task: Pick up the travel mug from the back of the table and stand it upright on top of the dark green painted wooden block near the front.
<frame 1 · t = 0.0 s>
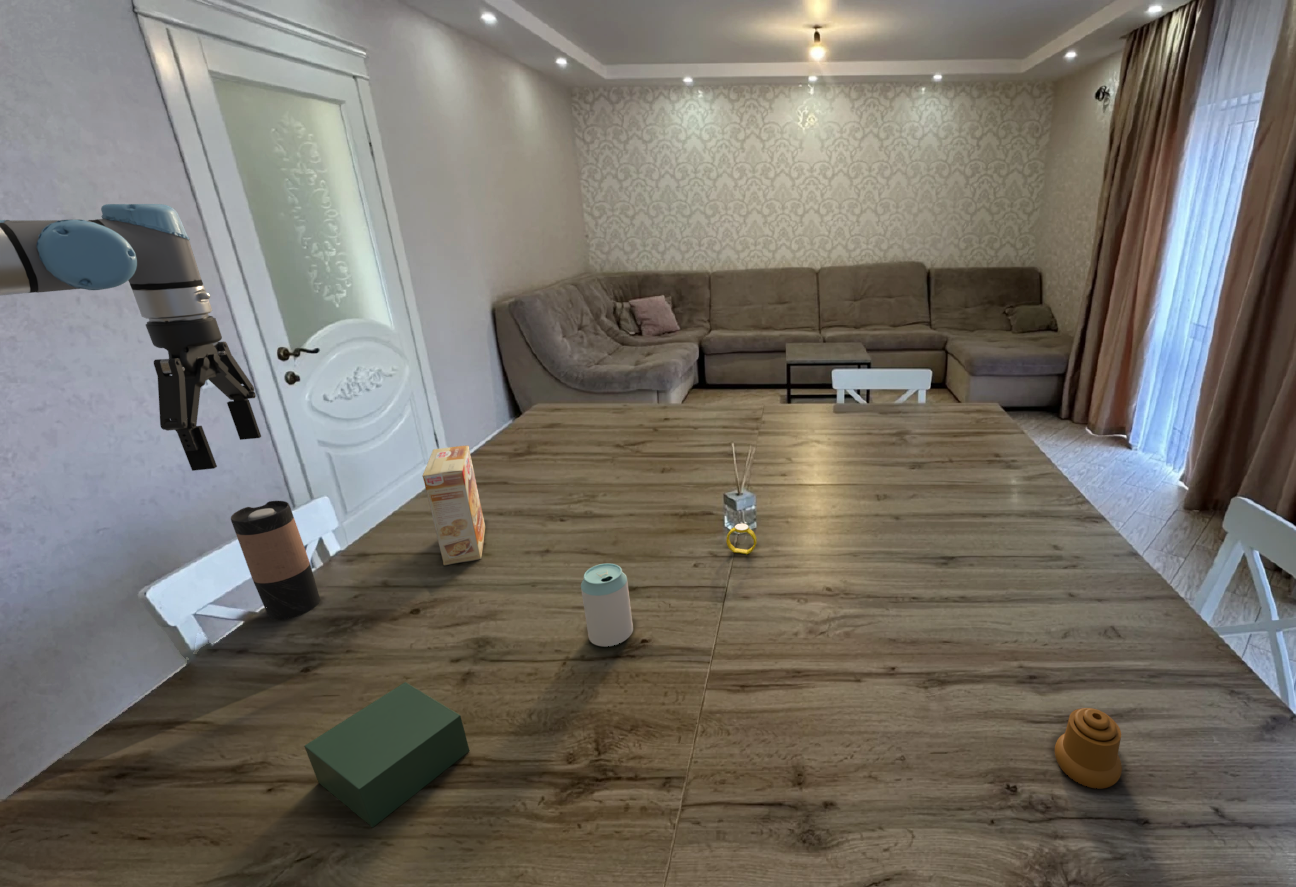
hand: (229, 452, 96), 30 cm above the table, tool pointing down, fingers open, 13 cm apart
green block: (396, 766, 76), on the table
travel mug: (297, 614, 106), on the table
ornamental finial: (1085, 767, 75), on the table
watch: (741, 553, 123), on the table
coffeecake box: (466, 545, 127), on the table
can: (611, 636, 99), on the table
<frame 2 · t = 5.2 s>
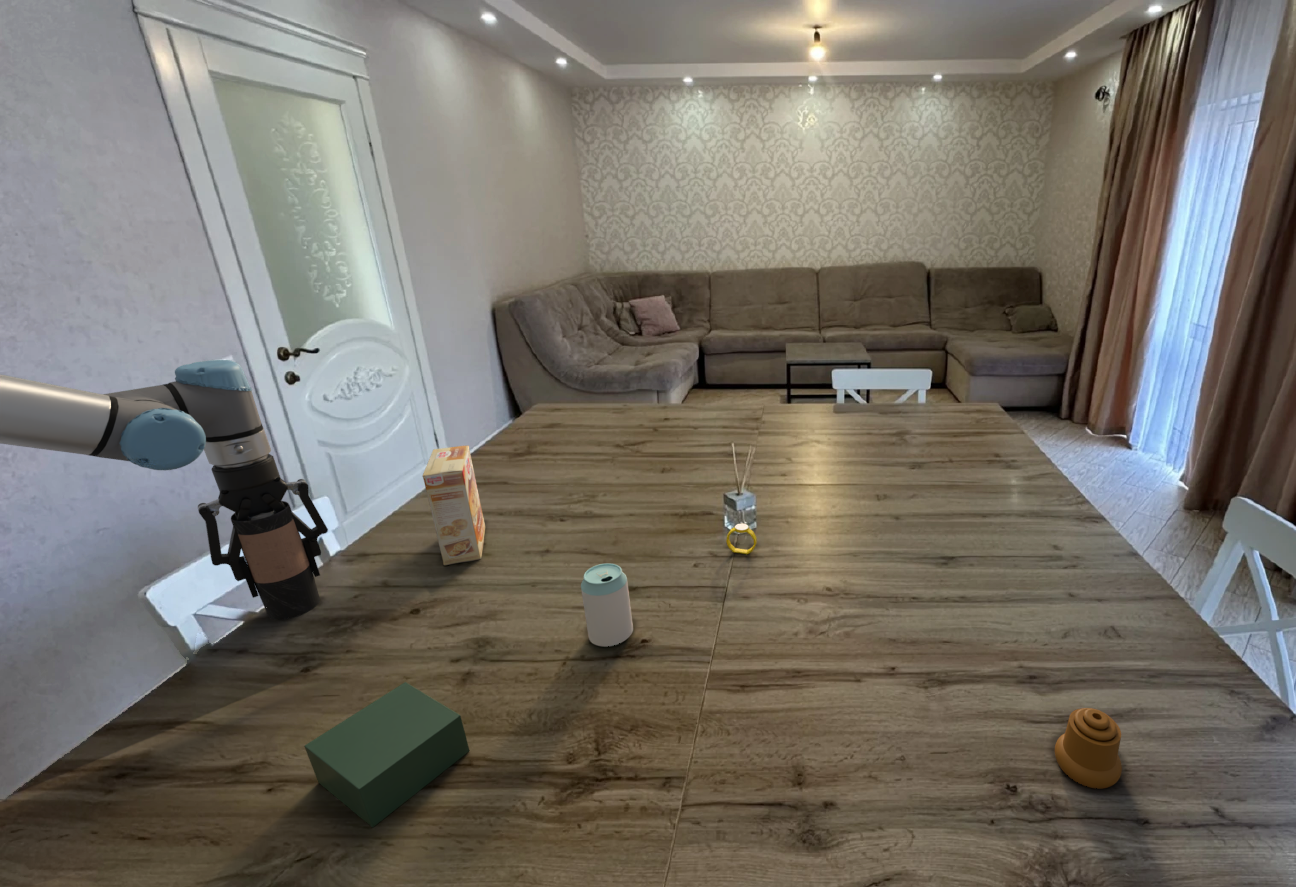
hand: (286, 583, 103), 6 cm above the table, tool pointing down, fingers closed on travel mug, 8 cm apart
travel mug: (297, 614, 106), on the table, touching gripper
everything else where it was.
when the fingers open (12 cm above the table, at t = 14.7 s): travel mug stays where it is, resting on green block.
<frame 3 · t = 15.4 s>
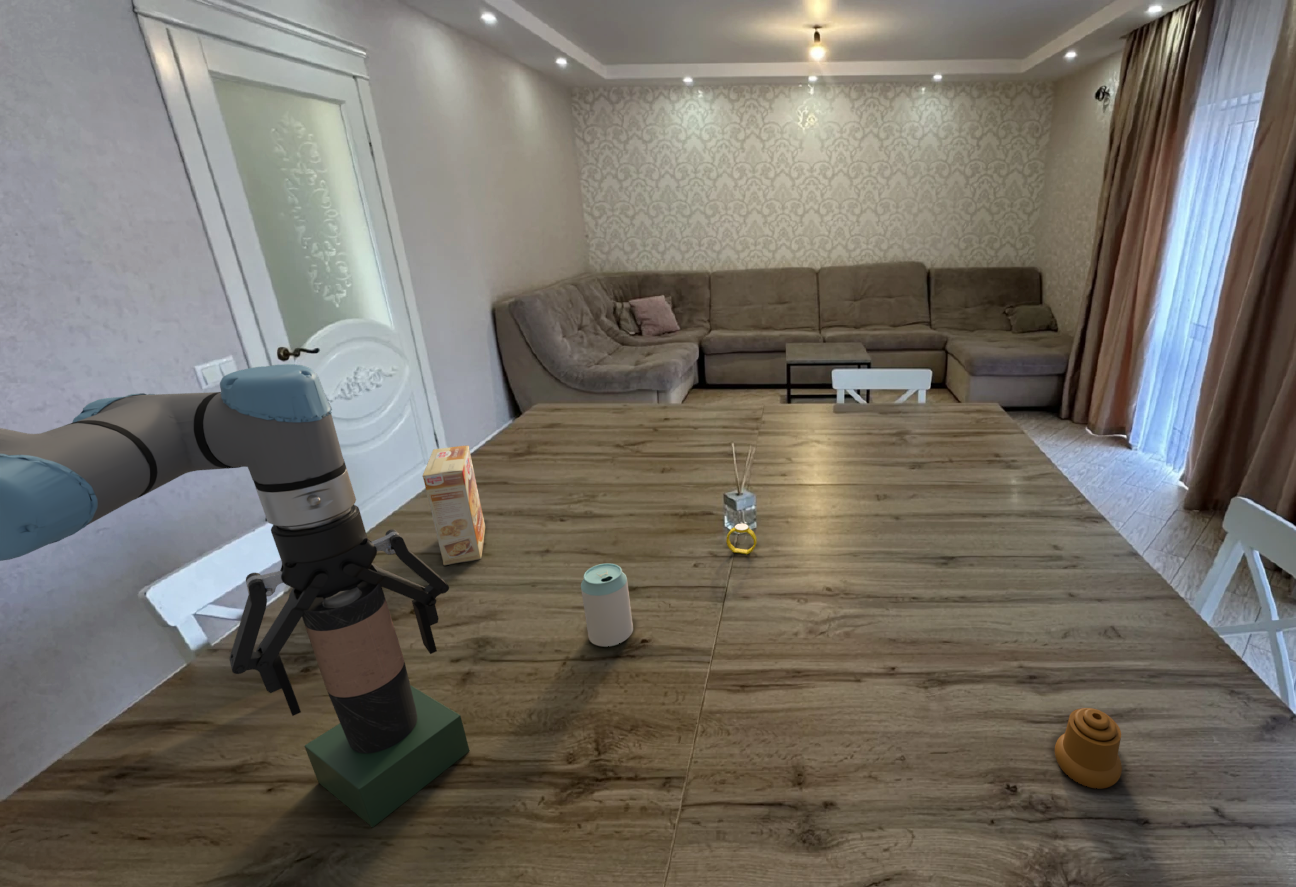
hand: (366, 676, 71), 14 cm above the table, tool pointing down, fingers open, 13 cm apart
green block: (396, 766, 76), on the table, touching travel mug
travel mug: (384, 731, 74), point 6 cm above the table, touching green block
everything else where it was.
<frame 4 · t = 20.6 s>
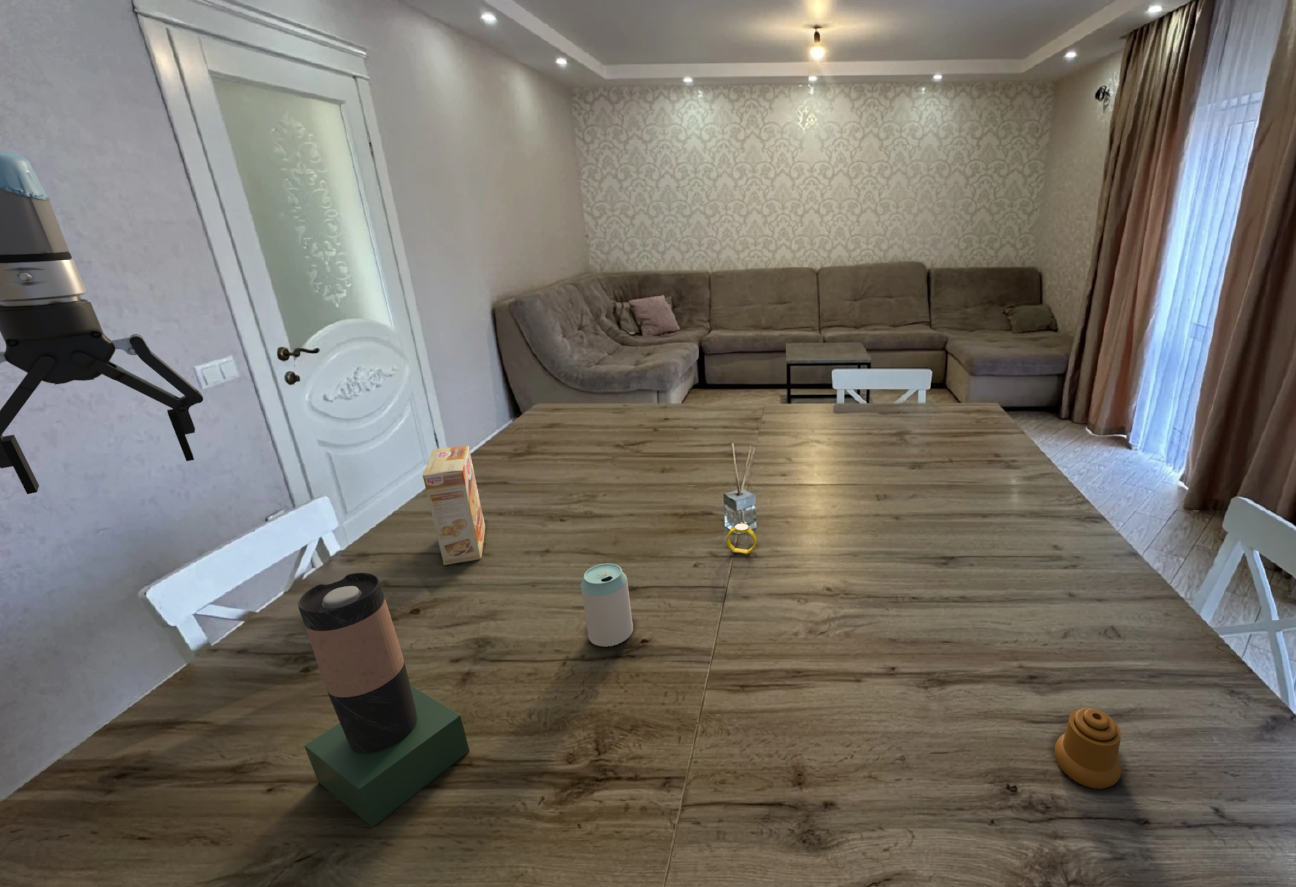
hand: (116, 473, 76), 35 cm above the table, tool pointing down, fingers open, 13 cm apart
nothing on the table moved.
at the end: travel mug 0.0 cm off-centre on the green block, point 5.8 cm above the green block's base; travel mug tilted 0°; the gripper is holding nothing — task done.
